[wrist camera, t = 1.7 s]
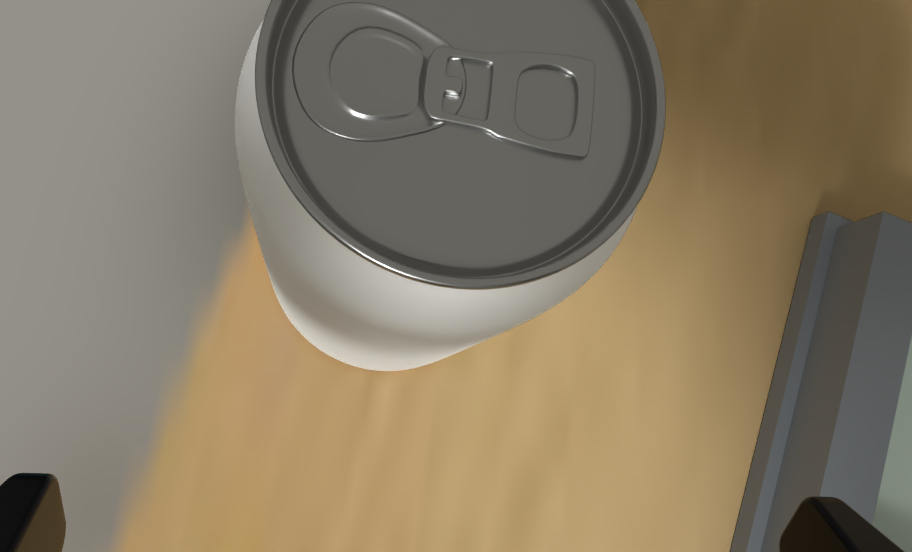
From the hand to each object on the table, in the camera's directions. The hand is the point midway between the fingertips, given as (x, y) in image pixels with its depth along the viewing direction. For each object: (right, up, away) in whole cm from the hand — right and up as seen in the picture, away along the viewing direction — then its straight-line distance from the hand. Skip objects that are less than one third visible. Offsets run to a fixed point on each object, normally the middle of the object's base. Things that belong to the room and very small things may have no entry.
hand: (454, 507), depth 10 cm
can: (-2, +3, +13) cm, 13 cm away
